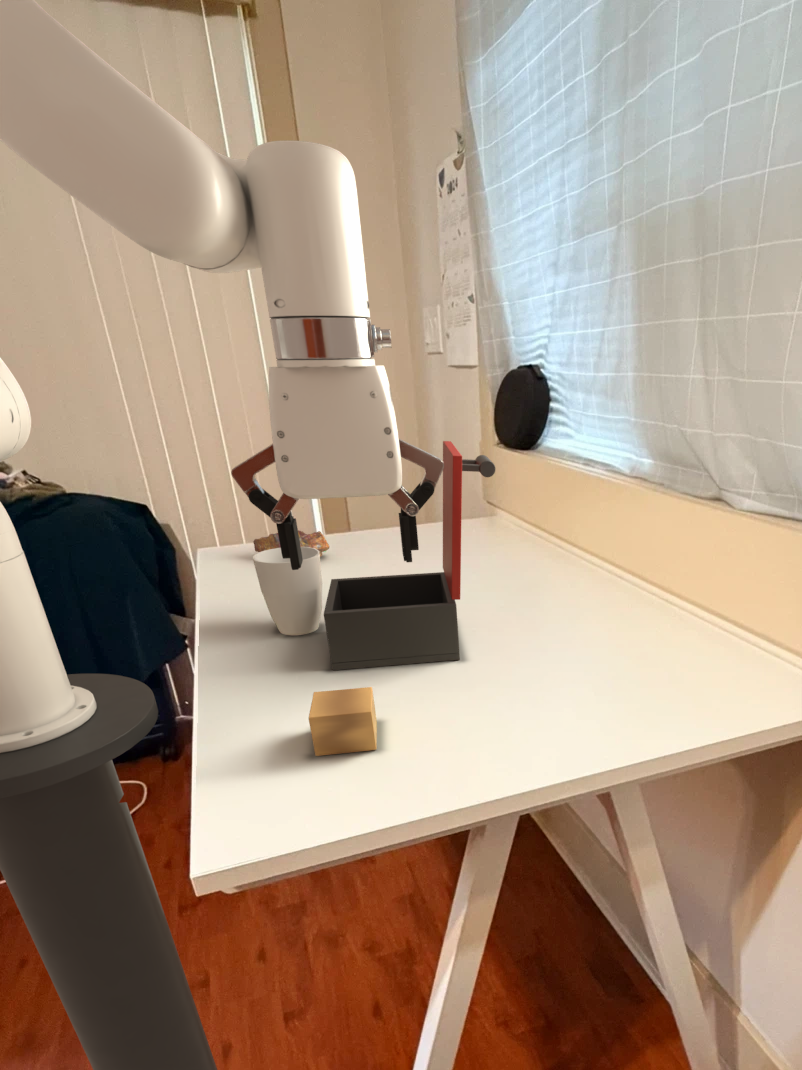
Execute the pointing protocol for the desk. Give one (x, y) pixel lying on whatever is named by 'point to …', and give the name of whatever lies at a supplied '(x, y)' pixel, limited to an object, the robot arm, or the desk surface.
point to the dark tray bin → (391, 621)
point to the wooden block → (343, 721)
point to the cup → (291, 590)
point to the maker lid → (456, 509)
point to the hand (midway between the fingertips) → (353, 562)
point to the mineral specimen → (306, 540)
